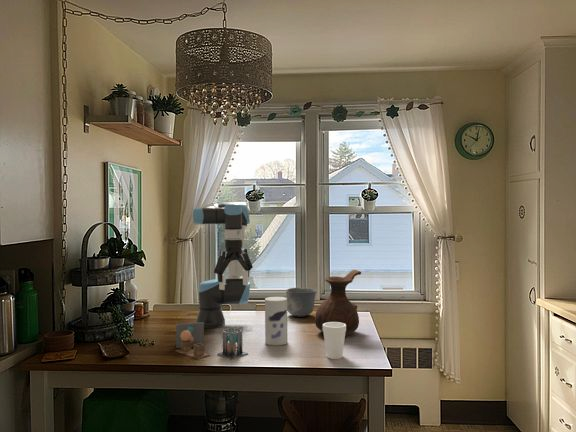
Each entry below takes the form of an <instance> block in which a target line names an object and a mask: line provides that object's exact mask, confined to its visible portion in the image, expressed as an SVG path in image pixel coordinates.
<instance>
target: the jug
mask: <svg viewBox="0 0 576 432" xmlns="http://www.w3.org/2000/svg"><path fill="white" fill-rule="evenodd" d="M359 275H362V272H361V270H357V269H352V270H351V271H349V273H347V274H346V275H345V276H342V277H341V276H333V275H331V276H327V277H326V278H324V281H325V282H326V283H328V284H329V286H330V289H331V290H330V293H329V296H328V297H327V298H326V299H325V300H323V301H322V302H321V303H320V304H319V306H318V307H317V309H316V312H315V316H314V323H315V326H316V328H317V330H320V331H321V332H322V333H323V324H324V323H327V322H340V323H344V324H346V332H345V337H346V336H349V335H351V334H353V333H354V332H355V331H356V330H358V328H359V324H360V317H359V314H358V311H357V309H358V305H357V304H355V303H353V302H352V301H350V300H349V299H348V296H347V294H346V289H347V286H348V285H349V284H350V283H353V281H354V279H355V277H356V276H359Z"/></svg>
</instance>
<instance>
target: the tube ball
mask: <svg viewBox="0 0 576 432" xmlns="http://www.w3.org/2000/svg"><path fill="white" fill-rule="evenodd" d="M236 350H237V343H235V344H233V353H234V352H235V351H236ZM227 352H228V353H231V343H230V342H229V341H228V343H227Z"/></svg>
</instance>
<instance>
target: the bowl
mask: <svg viewBox="0 0 576 432" xmlns="http://www.w3.org/2000/svg"><path fill="white" fill-rule="evenodd" d="M285 293H286V298H287V313H288V314H290V315H291V316H294V317H300V318H302V317H307V316H309V315H311V314H312V313H313V312H314V309H315V299H316V295H317V294H316V293H317V289H316V288H311V287H291V288H287V289H286V290H285Z"/></svg>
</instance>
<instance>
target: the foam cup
mask: <svg viewBox="0 0 576 432" xmlns="http://www.w3.org/2000/svg"><path fill="white" fill-rule="evenodd" d="M345 332H346V324H344V323H340V322H327V323H324V324H323V332H322V333H323V339H324V346H325V353H326V358H328V359H331V360H334V359H335V360H339V359H342V358H343V356H344V346H345V338H346V336H345Z"/></svg>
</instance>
